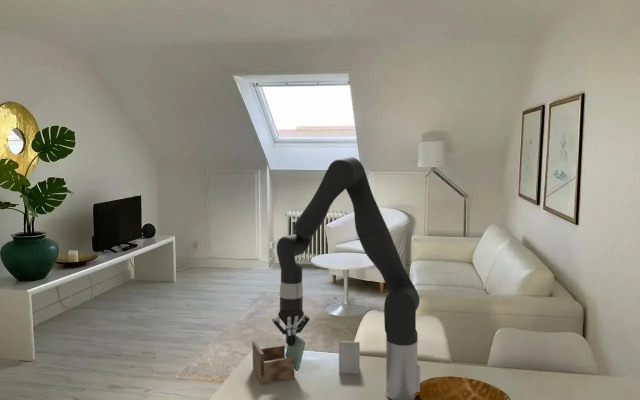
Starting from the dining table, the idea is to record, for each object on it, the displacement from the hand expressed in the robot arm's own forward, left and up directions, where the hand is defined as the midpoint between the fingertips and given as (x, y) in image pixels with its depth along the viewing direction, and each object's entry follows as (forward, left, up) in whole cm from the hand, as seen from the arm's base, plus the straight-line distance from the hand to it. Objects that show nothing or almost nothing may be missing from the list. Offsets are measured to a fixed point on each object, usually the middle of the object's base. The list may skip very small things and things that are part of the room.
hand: (290, 345), depth 169 cm
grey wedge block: (-18, +7, -9) cm, 22 cm away
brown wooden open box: (+6, 0, -9) cm, 11 cm away
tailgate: (0, 0, -6) cm, 6 cm away
